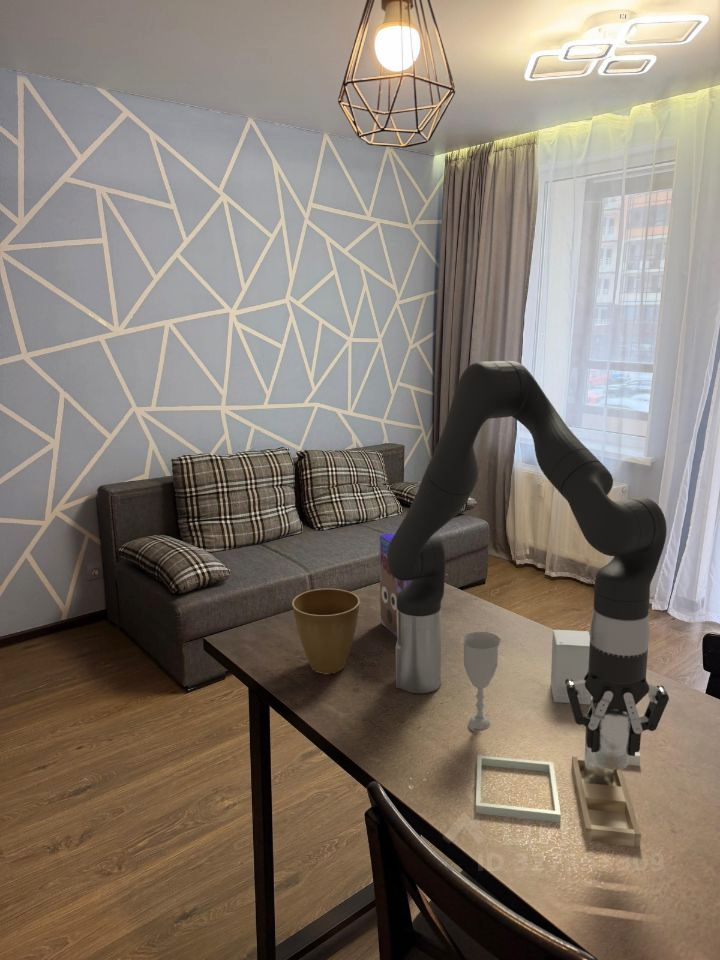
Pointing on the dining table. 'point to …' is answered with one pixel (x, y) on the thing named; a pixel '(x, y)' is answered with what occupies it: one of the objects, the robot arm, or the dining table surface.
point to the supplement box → (569, 663)
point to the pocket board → (605, 809)
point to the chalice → (480, 669)
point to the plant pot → (326, 626)
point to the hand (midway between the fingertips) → (612, 750)
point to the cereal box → (388, 586)
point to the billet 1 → (613, 740)
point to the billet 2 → (596, 770)
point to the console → (634, 759)
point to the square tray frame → (512, 810)
